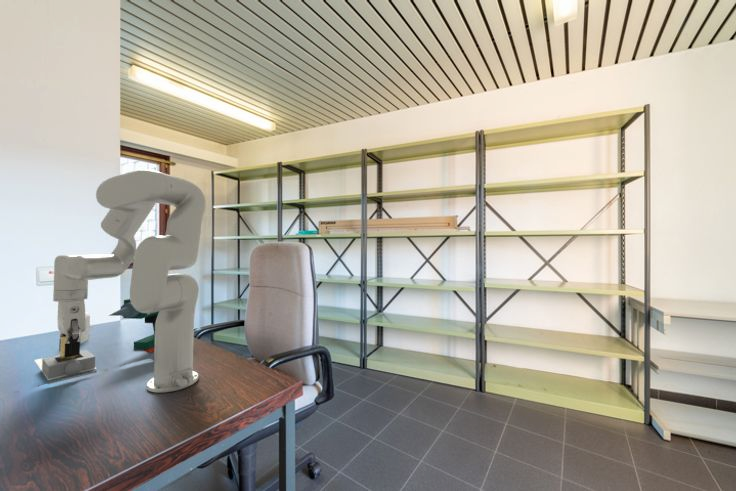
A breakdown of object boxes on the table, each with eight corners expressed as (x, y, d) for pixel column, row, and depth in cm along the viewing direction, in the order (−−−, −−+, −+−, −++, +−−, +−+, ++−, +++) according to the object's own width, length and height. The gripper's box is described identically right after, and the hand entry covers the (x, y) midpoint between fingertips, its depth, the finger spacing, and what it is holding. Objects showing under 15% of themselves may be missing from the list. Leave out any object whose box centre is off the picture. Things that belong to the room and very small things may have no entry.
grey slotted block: (97, 373, 92) (97, 357, 92) (48, 385, 84) (49, 368, 84) (77, 354, 107) (77, 341, 107) (33, 363, 99) (34, 349, 99)
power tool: (118, 368, 97) (120, 305, 97) (96, 367, 97) (98, 305, 97) (181, 338, 129) (183, 291, 129) (165, 337, 129) (166, 291, 129)
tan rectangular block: (79, 368, 93) (80, 336, 93) (61, 372, 89) (62, 339, 89) (76, 365, 95) (77, 333, 95) (58, 369, 92) (59, 336, 92)
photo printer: (81, 347, 115) (82, 314, 115) (66, 348, 113) (67, 315, 113) (91, 339, 124) (91, 309, 124) (77, 341, 122) (78, 310, 122)
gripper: (95, 296, 90) (93, 356, 90) (80, 290, 101) (78, 344, 100) (59, 299, 84) (57, 363, 84) (47, 293, 94) (46, 350, 94)
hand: (69, 352), depth 92 cm, fingers open, 6 cm apart
